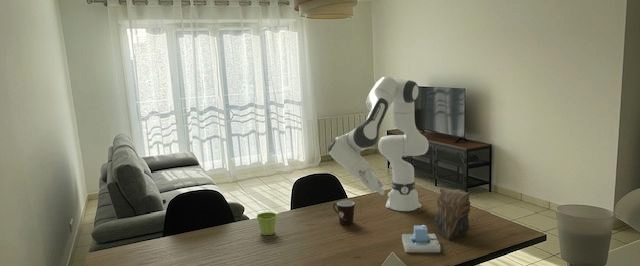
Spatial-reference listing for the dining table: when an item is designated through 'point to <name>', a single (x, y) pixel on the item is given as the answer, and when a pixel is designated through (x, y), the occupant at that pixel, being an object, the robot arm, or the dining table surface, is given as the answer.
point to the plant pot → (267, 222)
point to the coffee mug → (345, 212)
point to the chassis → (420, 244)
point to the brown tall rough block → (452, 213)
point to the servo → (420, 234)
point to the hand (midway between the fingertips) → (382, 189)
